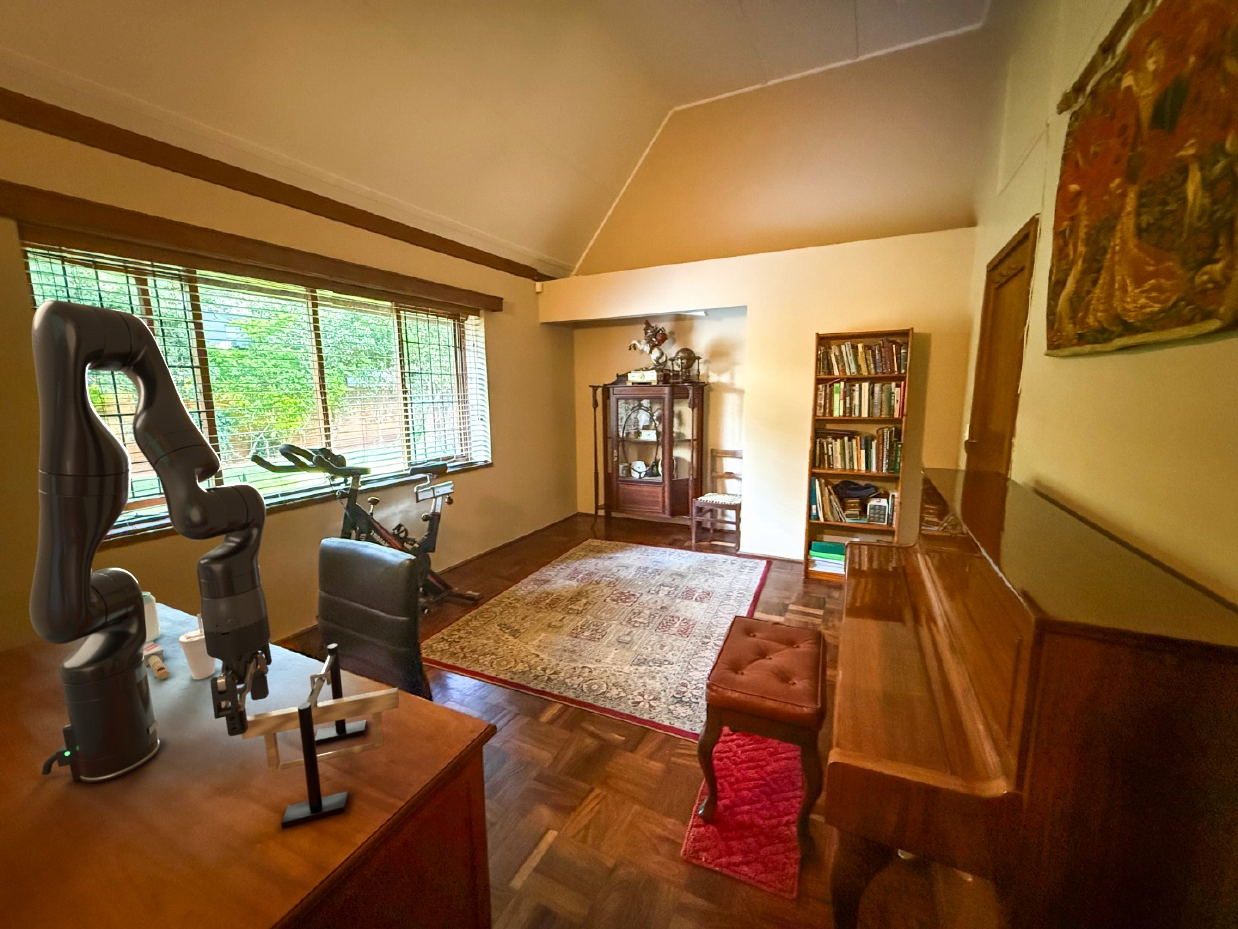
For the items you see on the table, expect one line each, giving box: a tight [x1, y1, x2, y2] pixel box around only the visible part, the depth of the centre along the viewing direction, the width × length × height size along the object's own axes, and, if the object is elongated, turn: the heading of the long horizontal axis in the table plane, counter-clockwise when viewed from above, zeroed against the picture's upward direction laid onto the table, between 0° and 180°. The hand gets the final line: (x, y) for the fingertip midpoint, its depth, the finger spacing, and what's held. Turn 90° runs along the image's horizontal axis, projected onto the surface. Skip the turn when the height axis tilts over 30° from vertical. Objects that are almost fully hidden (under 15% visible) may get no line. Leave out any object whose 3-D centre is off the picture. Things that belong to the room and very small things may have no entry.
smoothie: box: [178, 613, 216, 680], centre depth 103 cm, size 6×6×14 cm
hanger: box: [241, 671, 400, 773], centre depth 76 cm, size 22×1×15 cm, turn 109°
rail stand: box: [280, 643, 368, 830], centre depth 76 cm, size 8×20×18 cm, turn 20°
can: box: [142, 591, 162, 643], centre depth 117 cm, size 7×7×12 cm
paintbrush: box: [143, 641, 170, 680], centre depth 108 cm, size 4×3×20 cm
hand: (250, 715), depth 73 cm, fingers open, 8 cm apart
